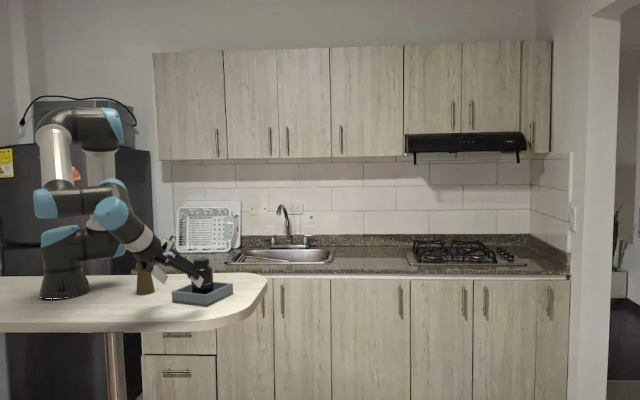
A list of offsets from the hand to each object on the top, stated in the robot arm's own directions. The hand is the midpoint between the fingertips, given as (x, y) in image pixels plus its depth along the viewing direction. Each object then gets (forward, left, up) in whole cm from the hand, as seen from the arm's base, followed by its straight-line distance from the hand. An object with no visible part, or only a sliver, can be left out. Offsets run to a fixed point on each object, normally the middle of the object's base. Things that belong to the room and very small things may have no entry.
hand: (183, 281), depth 136 cm
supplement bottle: (0, +9, -7) cm, 11 cm away
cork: (-24, +8, -8) cm, 26 cm away
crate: (0, +9, -8) cm, 12 cm away
